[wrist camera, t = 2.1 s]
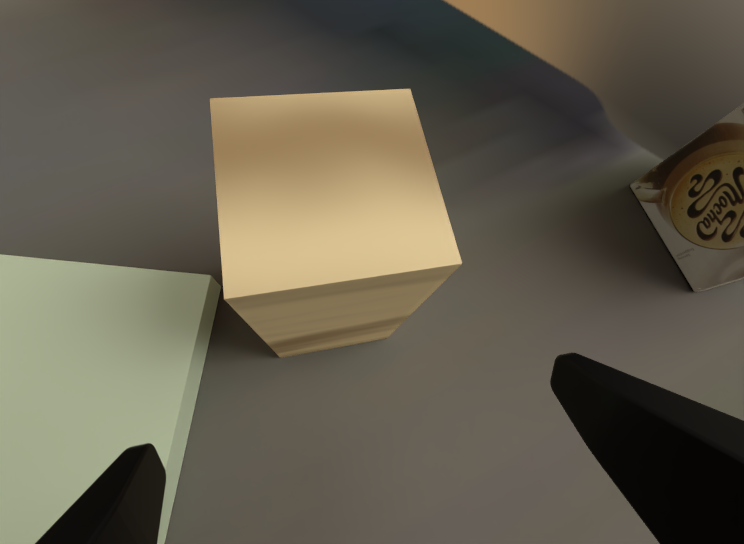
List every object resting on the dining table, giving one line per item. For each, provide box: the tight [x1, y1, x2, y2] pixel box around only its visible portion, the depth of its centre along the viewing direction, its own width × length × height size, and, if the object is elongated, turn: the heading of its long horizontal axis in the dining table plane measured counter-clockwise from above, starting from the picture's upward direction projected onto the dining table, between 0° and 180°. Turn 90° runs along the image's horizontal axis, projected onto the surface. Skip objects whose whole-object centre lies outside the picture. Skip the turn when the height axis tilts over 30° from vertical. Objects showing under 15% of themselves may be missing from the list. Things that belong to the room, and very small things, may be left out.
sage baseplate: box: [0, 255, 221, 544], centre depth 16 cm, size 14×14×2 cm
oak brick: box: [210, 89, 462, 358], centre depth 15 cm, size 6×6×12 cm
